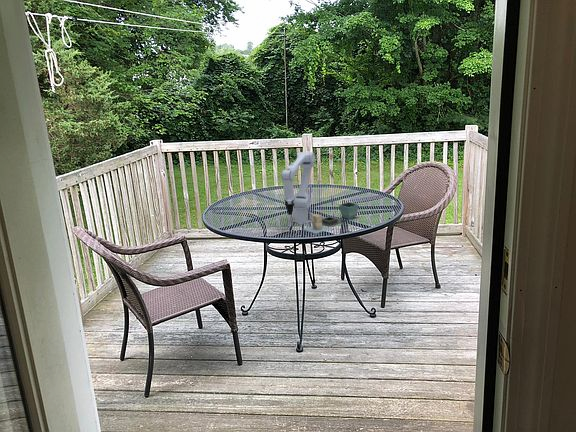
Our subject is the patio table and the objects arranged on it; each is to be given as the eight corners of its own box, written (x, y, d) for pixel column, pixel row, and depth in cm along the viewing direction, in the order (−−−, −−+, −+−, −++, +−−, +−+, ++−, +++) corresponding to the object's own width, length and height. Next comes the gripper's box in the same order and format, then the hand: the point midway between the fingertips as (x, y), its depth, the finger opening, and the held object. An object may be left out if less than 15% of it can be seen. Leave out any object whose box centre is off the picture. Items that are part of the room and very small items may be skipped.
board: (302, 230, 273) (302, 229, 273) (317, 225, 280) (317, 224, 280) (315, 234, 264) (315, 233, 264) (331, 229, 271) (331, 228, 271)
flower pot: (348, 221, 285) (348, 207, 282) (339, 218, 291) (338, 204, 289) (358, 218, 289) (358, 204, 287) (349, 215, 296) (349, 202, 294)
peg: (312, 228, 273) (312, 215, 270) (317, 227, 275) (317, 214, 273) (317, 230, 270) (316, 217, 267) (322, 228, 272) (321, 215, 270)
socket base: (311, 222, 286) (311, 219, 285) (330, 217, 295) (330, 213, 295) (328, 228, 274) (328, 224, 273) (347, 221, 283) (347, 218, 282)
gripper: (296, 192, 262) (297, 215, 265) (295, 187, 276) (296, 209, 279) (283, 193, 262) (285, 216, 265) (283, 188, 275) (284, 209, 279)
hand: (289, 212), depth 272 cm, fingers open, 7 cm apart
